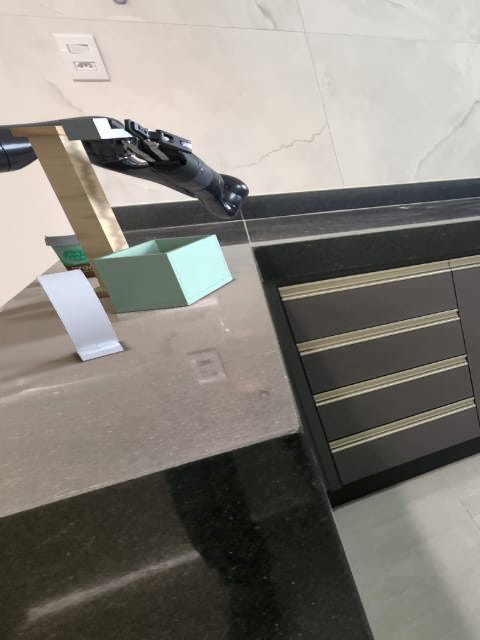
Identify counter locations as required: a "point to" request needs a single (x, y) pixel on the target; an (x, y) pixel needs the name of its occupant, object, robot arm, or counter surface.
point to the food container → (70, 253)
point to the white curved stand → (81, 313)
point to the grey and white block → (91, 129)
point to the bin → (163, 272)
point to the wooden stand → (77, 193)
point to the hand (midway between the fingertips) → (118, 124)
